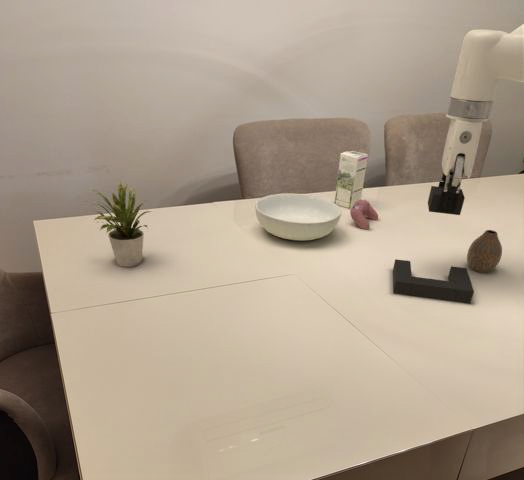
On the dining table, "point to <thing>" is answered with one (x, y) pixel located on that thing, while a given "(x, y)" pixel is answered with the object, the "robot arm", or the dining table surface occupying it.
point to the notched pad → (432, 284)
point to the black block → (435, 198)
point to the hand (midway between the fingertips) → (444, 205)
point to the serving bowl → (297, 216)
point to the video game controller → (363, 213)
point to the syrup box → (350, 178)
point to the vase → (485, 252)
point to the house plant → (124, 228)
